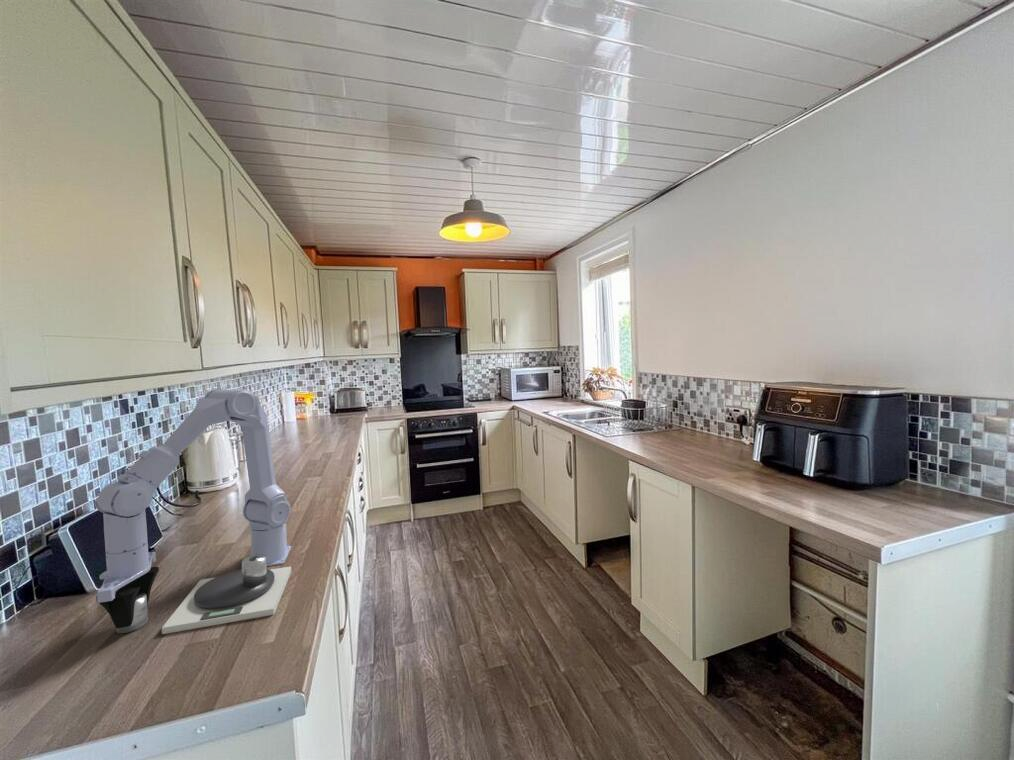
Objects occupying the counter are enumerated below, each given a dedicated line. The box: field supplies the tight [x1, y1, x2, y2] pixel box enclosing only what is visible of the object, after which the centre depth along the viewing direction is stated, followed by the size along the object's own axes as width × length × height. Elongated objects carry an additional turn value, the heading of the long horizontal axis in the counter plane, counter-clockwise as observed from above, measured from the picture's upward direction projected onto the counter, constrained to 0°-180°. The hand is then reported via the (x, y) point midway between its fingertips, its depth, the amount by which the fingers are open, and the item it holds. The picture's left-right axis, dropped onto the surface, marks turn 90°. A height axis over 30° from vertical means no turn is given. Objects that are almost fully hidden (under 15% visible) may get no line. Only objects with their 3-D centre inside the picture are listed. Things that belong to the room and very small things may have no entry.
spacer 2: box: [241, 554, 268, 588], centre depth 87 cm, size 4×4×5 cm
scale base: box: [161, 566, 292, 635], centre depth 85 cm, size 17×18×2 cm
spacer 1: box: [115, 593, 149, 634], centre depth 77 cm, size 4×4×5 cm
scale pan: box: [194, 568, 275, 609], centre depth 86 cm, size 14×14×1 cm
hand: (131, 617), depth 77 cm, fingers closed on spacer 1, 4 cm apart
